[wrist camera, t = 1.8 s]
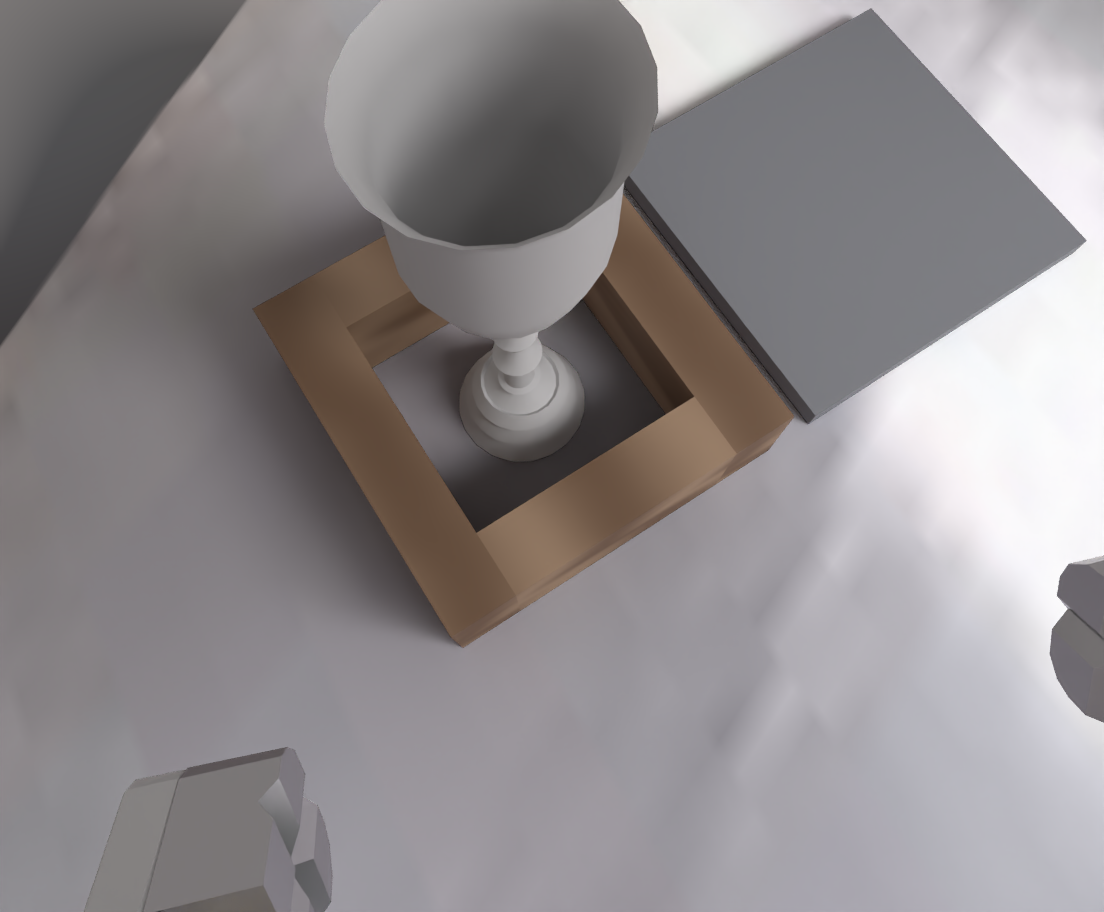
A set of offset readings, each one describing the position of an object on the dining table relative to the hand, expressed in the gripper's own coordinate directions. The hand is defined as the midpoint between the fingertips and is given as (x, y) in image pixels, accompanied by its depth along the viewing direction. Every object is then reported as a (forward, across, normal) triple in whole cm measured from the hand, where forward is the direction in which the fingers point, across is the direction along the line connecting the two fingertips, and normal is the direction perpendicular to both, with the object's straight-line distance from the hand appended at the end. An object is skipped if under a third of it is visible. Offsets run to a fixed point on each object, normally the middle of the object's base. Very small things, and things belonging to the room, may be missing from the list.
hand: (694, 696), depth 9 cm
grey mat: (+29, -15, +4) cm, 33 cm away
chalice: (+26, 0, +8) cm, 27 cm away
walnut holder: (+26, 0, +8) cm, 27 cm away
